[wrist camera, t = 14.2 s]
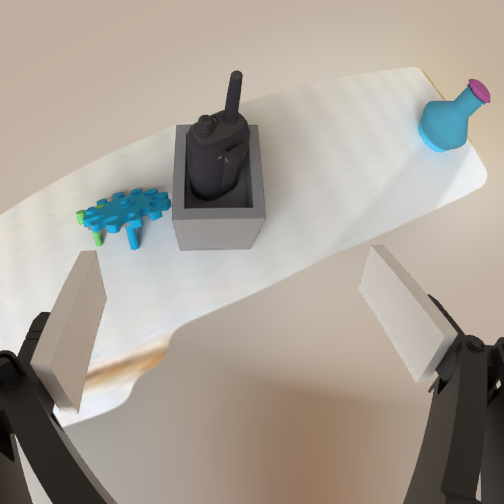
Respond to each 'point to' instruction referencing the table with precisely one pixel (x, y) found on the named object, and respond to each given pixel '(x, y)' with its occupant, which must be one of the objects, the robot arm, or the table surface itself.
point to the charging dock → (218, 203)
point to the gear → (124, 213)
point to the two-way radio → (218, 147)
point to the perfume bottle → (451, 118)
